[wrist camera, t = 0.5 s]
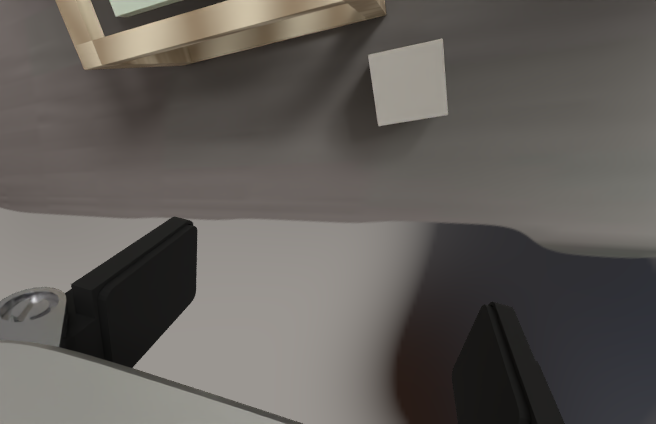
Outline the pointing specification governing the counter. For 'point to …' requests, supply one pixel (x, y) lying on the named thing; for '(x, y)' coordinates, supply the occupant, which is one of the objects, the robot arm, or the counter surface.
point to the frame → (207, 30)
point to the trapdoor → (137, 6)
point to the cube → (409, 83)
